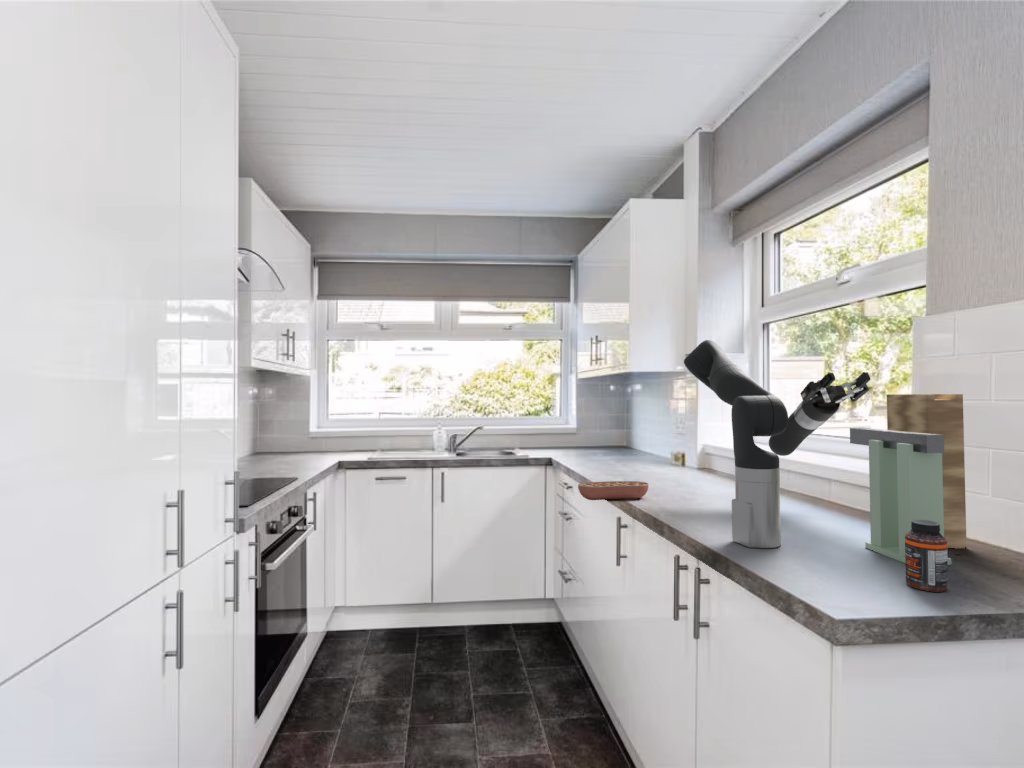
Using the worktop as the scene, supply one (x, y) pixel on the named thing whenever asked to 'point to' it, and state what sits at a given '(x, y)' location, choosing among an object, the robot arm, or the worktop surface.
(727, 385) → the robot arm
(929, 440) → the rail
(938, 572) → the supplement bottle
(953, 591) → the worktop surface
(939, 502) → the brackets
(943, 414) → the wooden block
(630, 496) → the bread loaf
